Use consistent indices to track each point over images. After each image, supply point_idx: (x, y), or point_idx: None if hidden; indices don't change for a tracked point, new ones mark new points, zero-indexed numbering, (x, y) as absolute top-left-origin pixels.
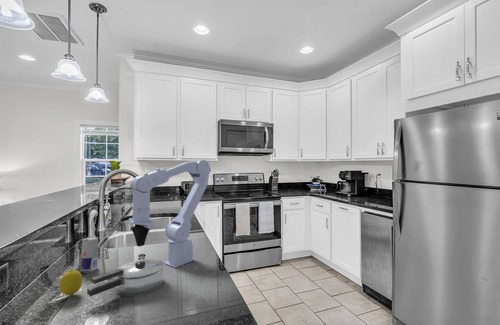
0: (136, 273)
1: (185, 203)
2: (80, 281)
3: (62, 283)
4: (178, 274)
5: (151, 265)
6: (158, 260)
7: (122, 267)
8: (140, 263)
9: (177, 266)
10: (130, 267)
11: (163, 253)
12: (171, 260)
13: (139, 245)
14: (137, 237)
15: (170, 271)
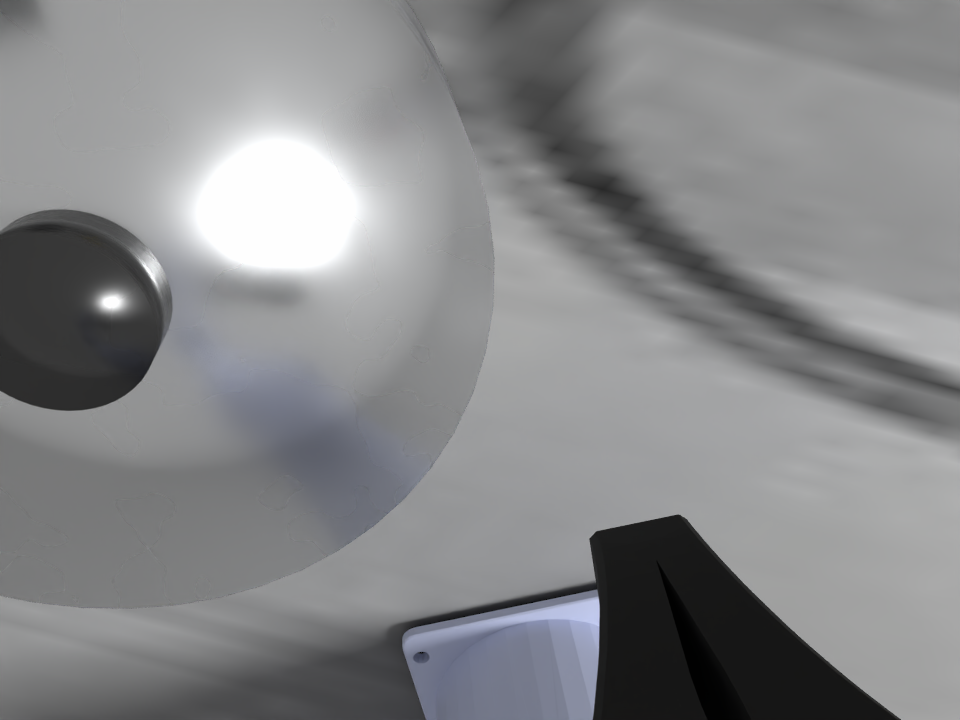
0: None
1: None
2: None
3: None
4: (203, 602)
5: (11, 452)
6: (200, 584)
7: (268, 3)
8: (15, 323)
9: (405, 656)
10: (150, 138)
11: (943, 655)
12: (504, 670)
13: (596, 561)
14: (647, 718)
15: (350, 567)
